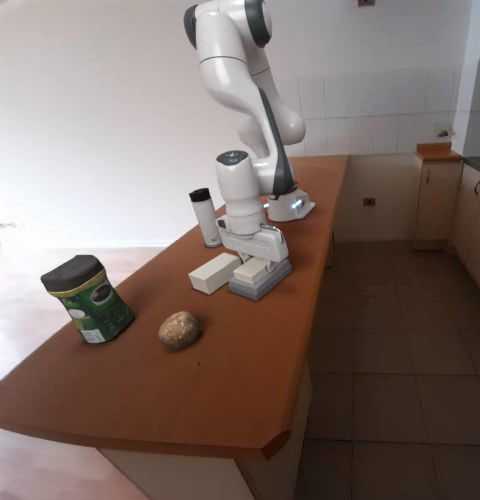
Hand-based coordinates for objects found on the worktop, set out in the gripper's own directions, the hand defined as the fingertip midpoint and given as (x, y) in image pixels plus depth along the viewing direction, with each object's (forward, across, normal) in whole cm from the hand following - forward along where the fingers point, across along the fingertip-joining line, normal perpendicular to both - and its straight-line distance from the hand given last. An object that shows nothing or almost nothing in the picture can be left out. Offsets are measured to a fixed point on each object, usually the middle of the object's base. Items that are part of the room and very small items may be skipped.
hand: (259, 267), depth 76 cm
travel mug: (+4, +31, -10) cm, 33 cm away
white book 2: (+4, +12, +5) cm, 14 cm away
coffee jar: (+5, +20, +30) cm, 36 cm away
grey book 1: (+3, 0, 0) cm, 3 cm away
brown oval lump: (+5, +1, +24) cm, 24 cm away
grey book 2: (+4, 0, 0) cm, 4 cm away
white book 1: (+2, +12, +5) cm, 13 cm away
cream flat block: (+1, 0, 0) cm, 1 cm away
